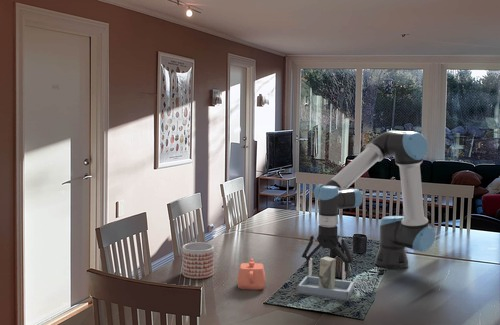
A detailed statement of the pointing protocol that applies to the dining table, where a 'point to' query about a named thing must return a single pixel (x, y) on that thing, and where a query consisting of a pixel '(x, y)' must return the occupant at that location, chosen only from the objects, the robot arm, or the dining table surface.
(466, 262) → the dining table surface
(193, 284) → the dining table surface
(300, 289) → the bin
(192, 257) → the planter
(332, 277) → the box
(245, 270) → the teapot
